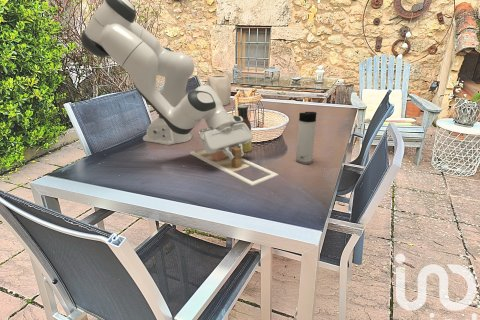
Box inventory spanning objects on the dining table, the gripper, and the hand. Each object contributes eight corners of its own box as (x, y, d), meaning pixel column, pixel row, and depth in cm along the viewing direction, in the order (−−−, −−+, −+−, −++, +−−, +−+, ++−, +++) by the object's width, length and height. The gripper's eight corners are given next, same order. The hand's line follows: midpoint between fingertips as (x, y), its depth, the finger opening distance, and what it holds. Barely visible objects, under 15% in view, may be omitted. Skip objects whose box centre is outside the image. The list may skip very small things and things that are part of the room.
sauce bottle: (253, 151, 136) (254, 105, 129) (248, 156, 131) (249, 108, 123) (238, 149, 138) (238, 103, 131) (233, 155, 133) (233, 107, 125)
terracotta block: (211, 157, 126) (210, 148, 125) (219, 155, 129) (219, 145, 127) (217, 160, 123) (217, 150, 122) (225, 158, 126) (225, 148, 124)
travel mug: (303, 166, 122) (307, 114, 115) (292, 160, 128) (296, 110, 120) (316, 163, 125) (321, 112, 117) (305, 157, 130) (309, 108, 123)
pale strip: (193, 154, 133) (191, 135, 129) (209, 149, 137) (208, 131, 134) (233, 175, 114) (233, 153, 111) (250, 169, 119) (250, 148, 116)
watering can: (198, 108, 207) (196, 78, 200) (217, 100, 230) (216, 72, 223) (219, 110, 202) (218, 79, 194) (237, 101, 224) (237, 74, 217)
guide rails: (189, 156, 131) (189, 152, 130) (214, 149, 138) (213, 145, 137) (252, 190, 105) (252, 184, 104) (278, 179, 112) (278, 174, 111)
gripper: (200, 125, 111) (217, 160, 108) (245, 115, 123) (262, 146, 120) (193, 135, 116) (210, 168, 113) (237, 124, 128) (253, 154, 125)
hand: (237, 157), depth 116 cm, fingers closed on pale strip, 2 cm apart
